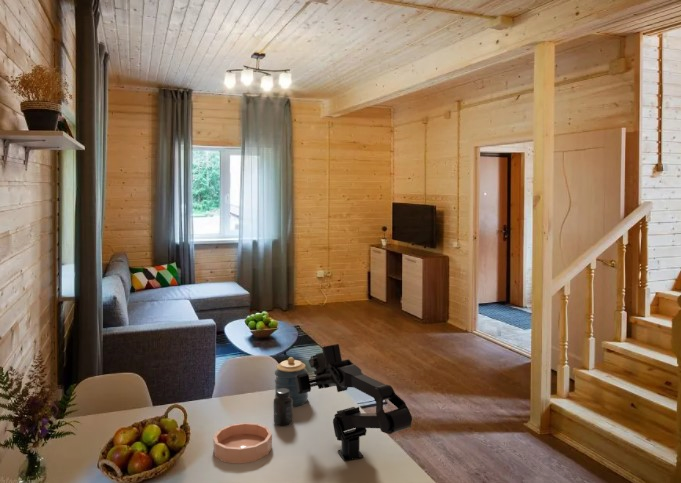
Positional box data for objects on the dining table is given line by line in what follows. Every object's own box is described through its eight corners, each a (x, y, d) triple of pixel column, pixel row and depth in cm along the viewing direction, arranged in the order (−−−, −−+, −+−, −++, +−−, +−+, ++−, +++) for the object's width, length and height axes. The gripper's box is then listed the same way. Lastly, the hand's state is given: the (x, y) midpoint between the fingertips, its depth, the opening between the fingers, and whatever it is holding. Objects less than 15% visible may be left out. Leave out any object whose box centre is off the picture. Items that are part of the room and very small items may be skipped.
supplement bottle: (269, 424, 190) (269, 391, 189) (280, 417, 196) (280, 385, 195) (286, 428, 187) (285, 395, 186) (296, 420, 193) (296, 388, 192)
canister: (270, 397, 214) (270, 354, 212) (301, 392, 220) (300, 350, 218) (281, 409, 202) (280, 364, 201) (312, 404, 208) (312, 360, 206)
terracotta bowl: (276, 456, 167) (276, 443, 167) (218, 467, 161) (218, 453, 160) (264, 432, 184) (264, 419, 183) (211, 440, 178) (210, 427, 177)
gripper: (350, 348, 182) (328, 353, 195) (302, 357, 172) (282, 362, 185) (357, 381, 180) (334, 384, 192) (308, 392, 170) (288, 395, 182)
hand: (310, 380), depth 188 cm, fingers open, 9 cm apart
